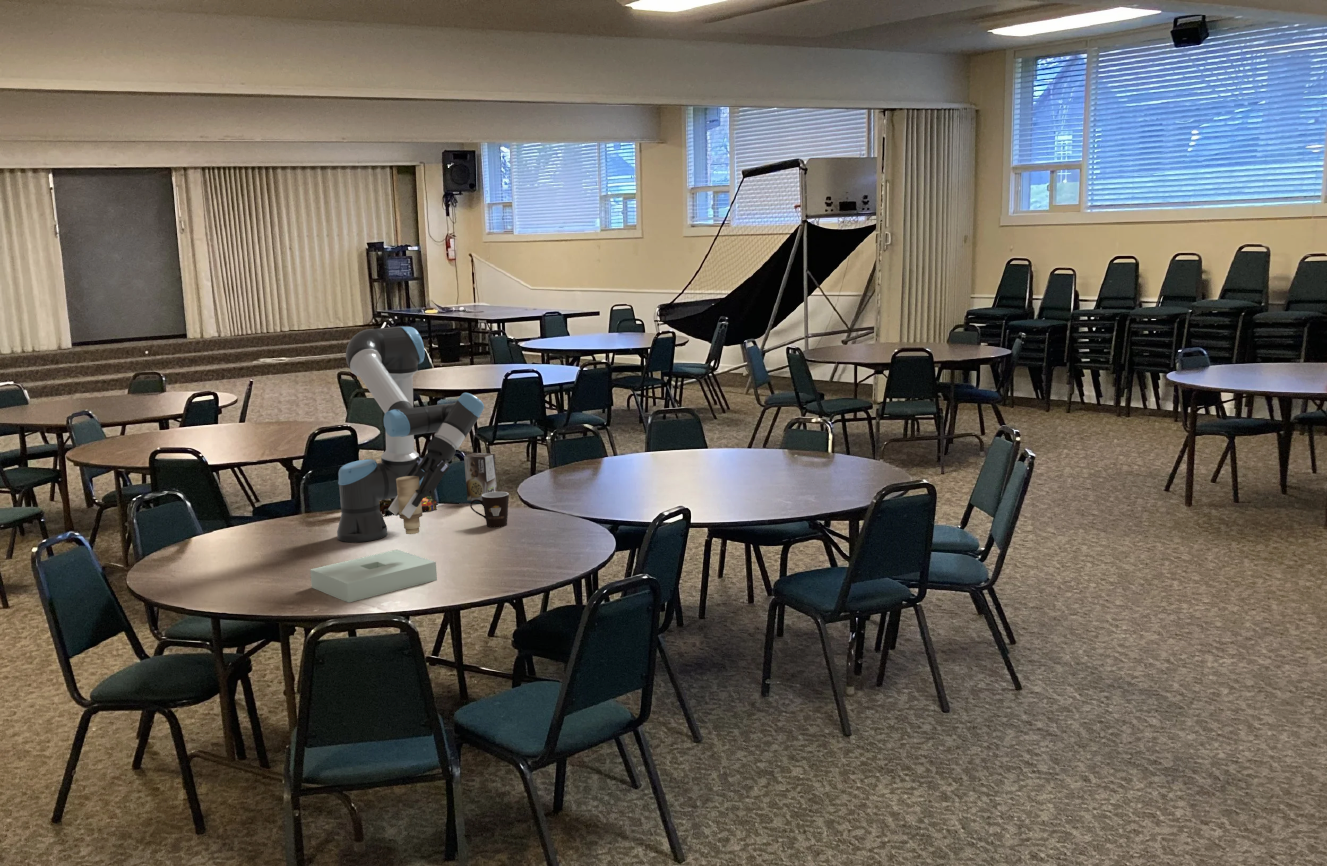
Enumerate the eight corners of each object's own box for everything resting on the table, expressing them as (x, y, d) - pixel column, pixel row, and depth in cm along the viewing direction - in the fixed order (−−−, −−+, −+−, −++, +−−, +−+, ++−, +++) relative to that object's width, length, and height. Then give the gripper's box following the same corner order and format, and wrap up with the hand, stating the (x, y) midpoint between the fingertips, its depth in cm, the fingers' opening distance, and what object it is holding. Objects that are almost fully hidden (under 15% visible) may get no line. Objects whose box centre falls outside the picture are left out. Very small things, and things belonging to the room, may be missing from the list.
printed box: (498, 498, 409) (495, 453, 407) (488, 502, 403) (485, 456, 401) (476, 496, 413) (473, 452, 411) (466, 500, 407) (463, 455, 405)
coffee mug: (515, 522, 372) (513, 492, 370) (503, 529, 364) (501, 498, 362) (482, 521, 375) (481, 490, 374) (470, 527, 367) (468, 496, 366)
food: (378, 519, 385) (377, 509, 385) (370, 509, 402) (369, 499, 402) (444, 511, 393) (443, 501, 393) (433, 502, 411) (432, 492, 410)
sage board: (311, 587, 307) (310, 569, 306) (398, 566, 324) (396, 549, 323) (348, 602, 292) (347, 583, 291) (437, 579, 310) (435, 561, 309)
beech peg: (396, 533, 313) (391, 479, 310) (416, 528, 317) (411, 474, 314) (408, 536, 309) (403, 481, 306) (428, 531, 313) (423, 477, 310)
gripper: (474, 455, 313) (427, 526, 305) (435, 448, 327) (389, 516, 318) (455, 439, 309) (408, 511, 300) (417, 432, 322) (370, 501, 314)
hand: (398, 513), depth 309 cm, fingers closed on beech peg, 6 cm apart
